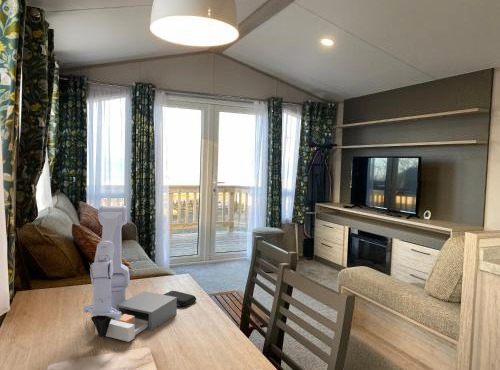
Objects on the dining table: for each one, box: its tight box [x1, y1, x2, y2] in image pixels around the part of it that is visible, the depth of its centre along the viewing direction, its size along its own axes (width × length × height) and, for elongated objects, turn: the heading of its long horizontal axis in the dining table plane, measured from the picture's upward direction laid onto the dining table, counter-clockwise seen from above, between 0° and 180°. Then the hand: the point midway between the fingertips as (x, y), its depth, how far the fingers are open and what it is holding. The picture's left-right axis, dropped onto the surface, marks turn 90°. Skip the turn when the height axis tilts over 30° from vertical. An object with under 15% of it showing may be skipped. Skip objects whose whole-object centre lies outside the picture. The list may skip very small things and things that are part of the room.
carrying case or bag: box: [162, 290, 197, 308], centre depth 163 cm, size 11×3×15 cm
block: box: [116, 314, 135, 325], centre depth 134 cm, size 4×4×4 cm
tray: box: [94, 318, 149, 342], centre depth 134 cm, size 14×14×5 cm
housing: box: [116, 290, 178, 331], centre depth 145 cm, size 16×16×7 cm
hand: (102, 336), depth 127 cm, fingers closed
